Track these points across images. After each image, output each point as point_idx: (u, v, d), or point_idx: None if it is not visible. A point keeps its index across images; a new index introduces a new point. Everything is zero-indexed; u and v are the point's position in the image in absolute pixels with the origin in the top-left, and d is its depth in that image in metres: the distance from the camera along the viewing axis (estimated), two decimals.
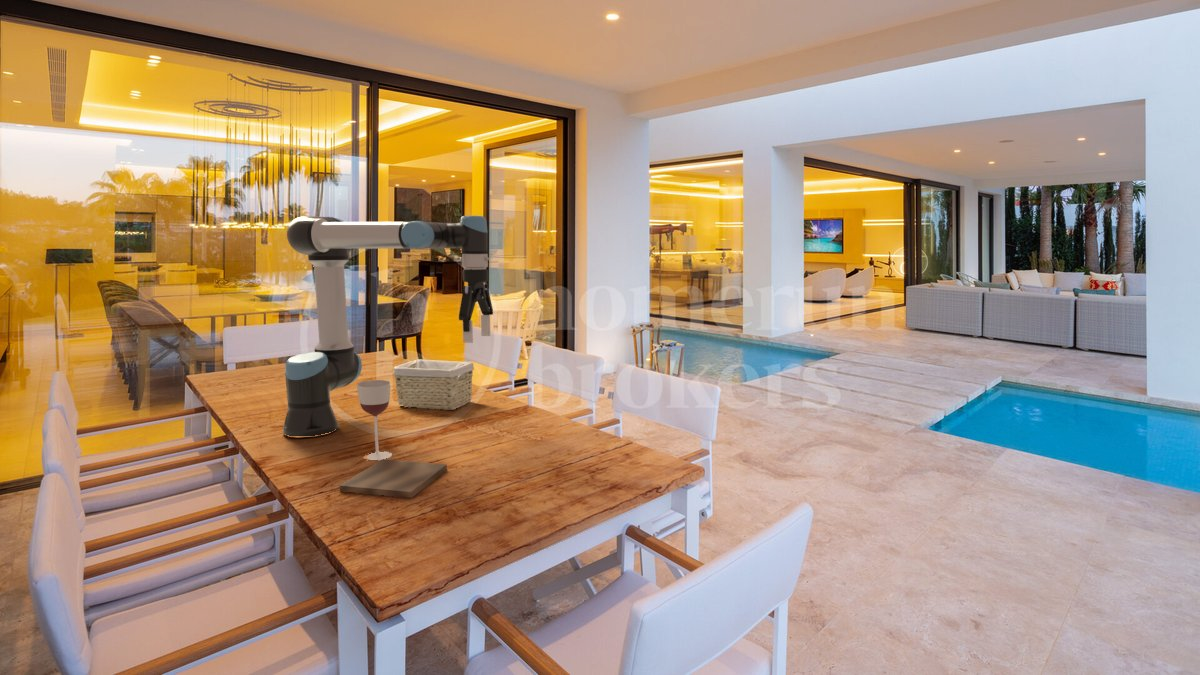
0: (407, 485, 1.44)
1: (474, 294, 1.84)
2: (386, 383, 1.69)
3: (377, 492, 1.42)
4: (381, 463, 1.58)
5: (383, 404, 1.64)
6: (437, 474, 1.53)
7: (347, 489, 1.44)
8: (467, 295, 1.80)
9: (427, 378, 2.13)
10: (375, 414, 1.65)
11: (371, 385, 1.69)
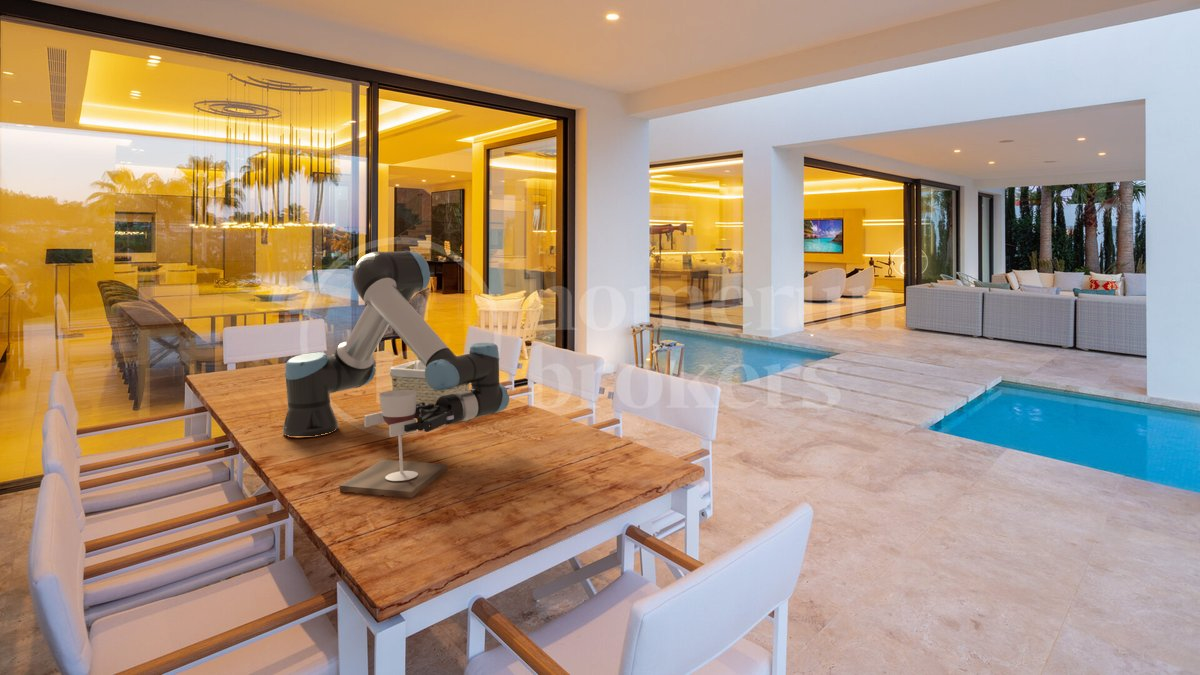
0: (407, 485, 1.44)
1: None
2: (411, 393, 1.51)
3: (377, 492, 1.42)
4: (381, 463, 1.58)
5: (409, 416, 1.46)
6: (437, 474, 1.53)
7: (347, 489, 1.44)
8: (445, 420, 1.52)
9: (421, 379, 2.11)
10: None
11: (394, 396, 1.51)
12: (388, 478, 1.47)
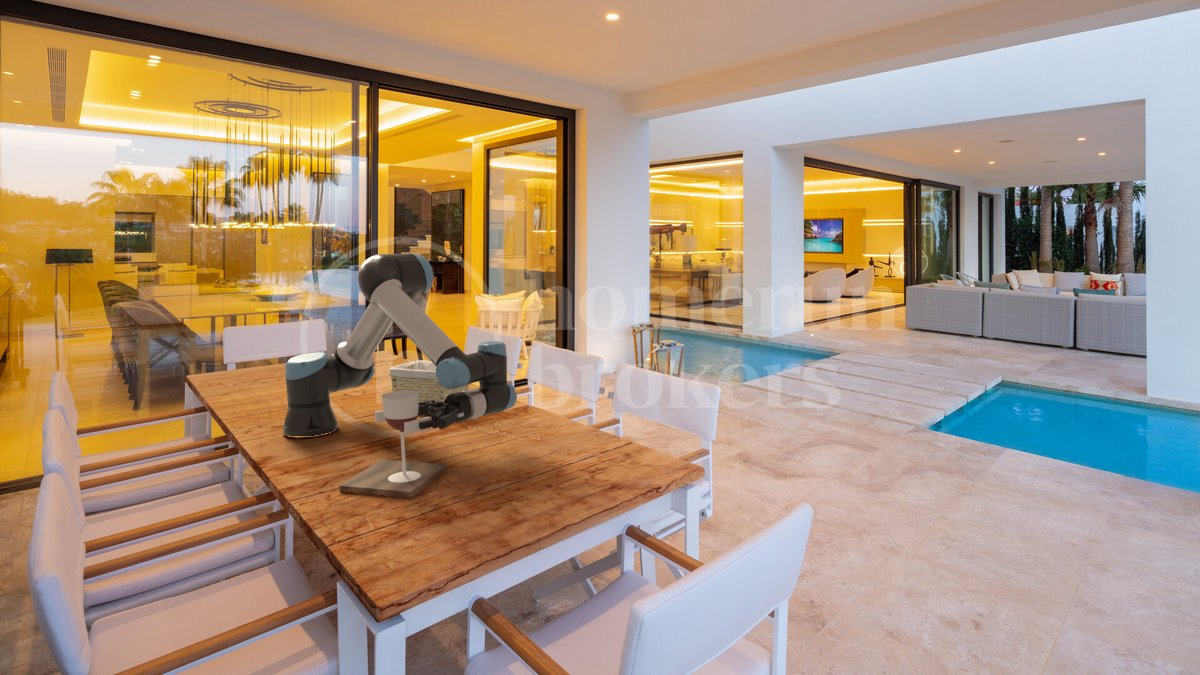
0: (407, 485, 1.44)
1: None
2: (414, 394, 1.50)
3: (377, 492, 1.42)
4: (381, 463, 1.58)
5: (412, 418, 1.45)
6: (437, 474, 1.53)
7: (347, 489, 1.44)
8: (456, 418, 1.53)
9: (421, 379, 2.11)
10: (402, 429, 1.46)
11: (396, 397, 1.50)
12: (391, 479, 1.47)
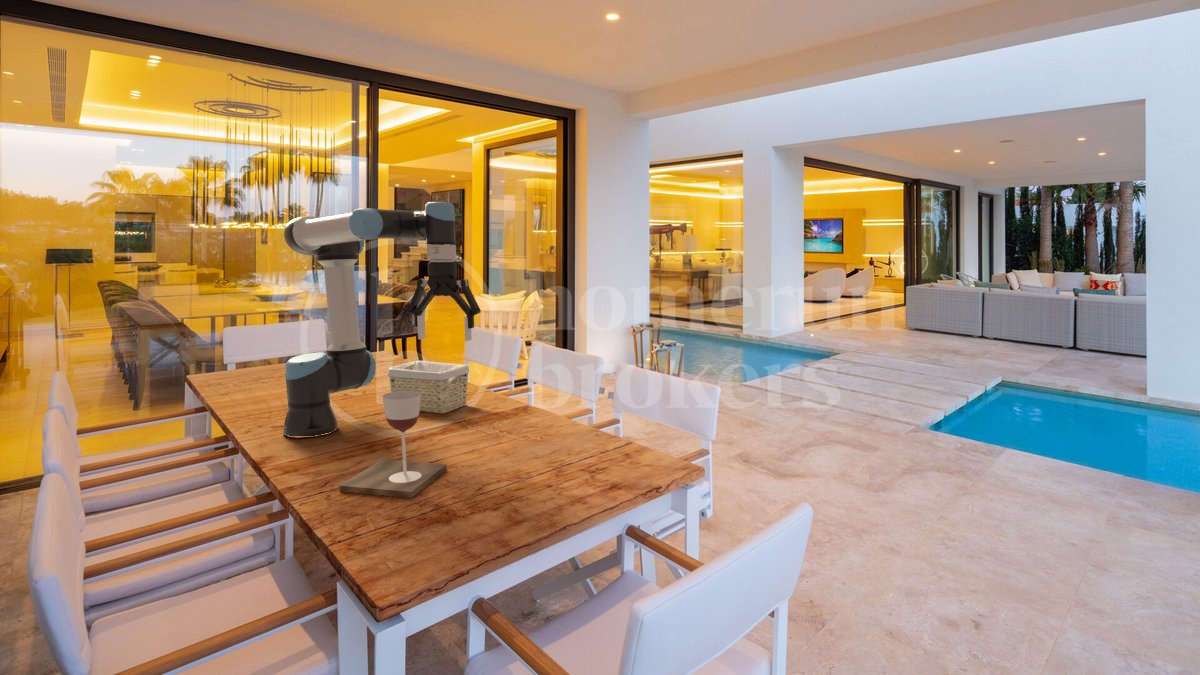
0: (407, 485, 1.44)
1: None
2: (414, 394, 1.50)
3: (377, 492, 1.42)
4: (381, 463, 1.58)
5: (413, 418, 1.45)
6: (437, 474, 1.53)
7: (347, 489, 1.44)
8: None
9: (418, 380, 2.10)
10: (403, 430, 1.46)
11: (397, 397, 1.50)
12: (392, 480, 1.47)
